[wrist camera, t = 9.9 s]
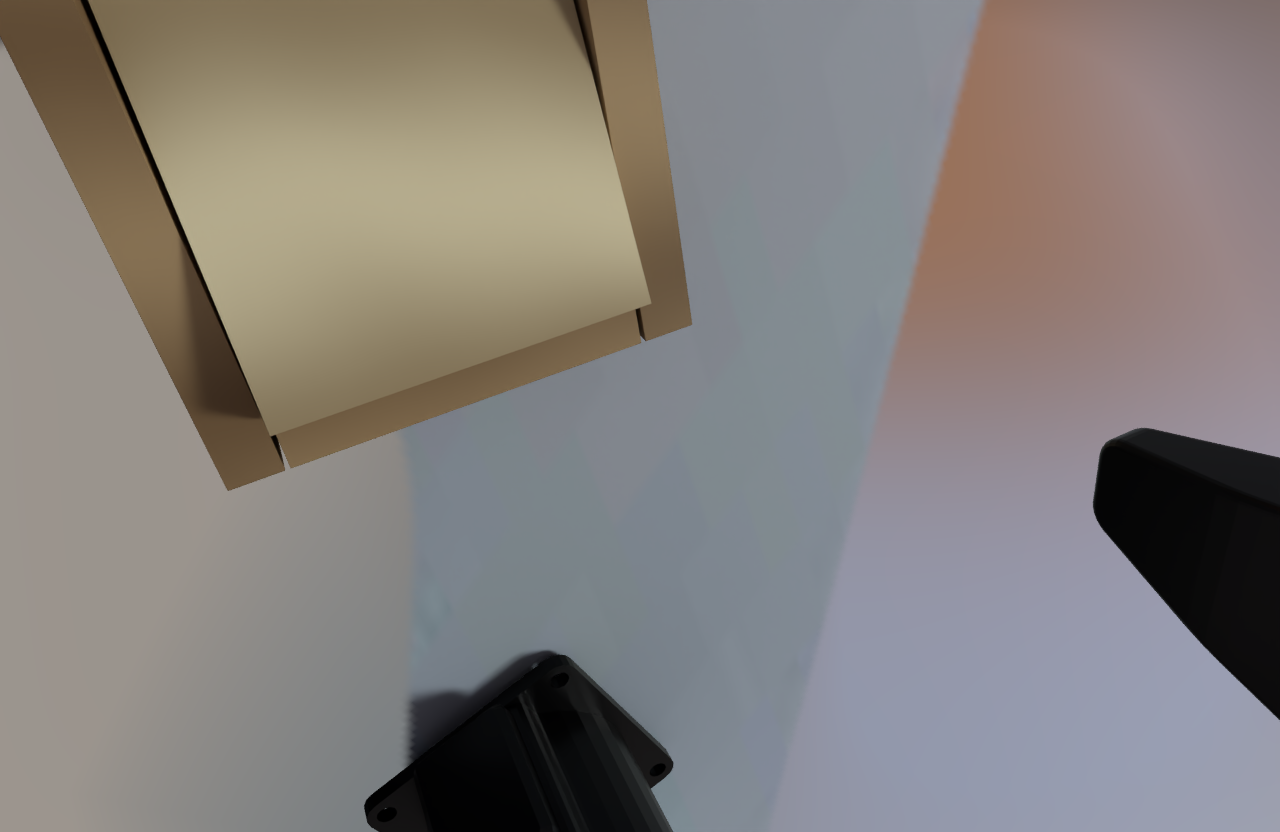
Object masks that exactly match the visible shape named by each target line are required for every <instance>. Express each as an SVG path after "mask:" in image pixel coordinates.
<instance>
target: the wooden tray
mask: <svg viewBox="0 0 1280 832" xmlns="http://www.w3.org/2000/svg"><path fill="white" fill-rule="evenodd" d="M0 37H1V39H2V41H3V43H4V45H5V47H6V49H7V51H8V53H9V55H10V57H11V59H12V61H13V63H14V65H15V67H16V69H17V71H18V73H19V75H20V77H21V79H22V81H23V83H24V85H25V87H26V89H27V91H28V93H29V95H30V97H31V99H32V101H33V103H34V105H35V107H36V109H37V111H38V113H39V115H40V117H41V119H42V121H43V123H44V125H45V127H46V129H47V131H48V133H49V135H50V137H51V139H52V141H53V143H54V145H55V147H56V149H57V151H58V152H59V155H60V157H61V159H62V161H63V162H64V165H65V167H66V169H67V171H68V173H69V175H70V177H71V179H72V181H73V183H74V185H75V187H76V189H77V191H78V193H79V195H80V197H81V199H82V201H83V203H84V205H85V207H86V209H87V211H88V213H89V215H90V217H91V219H92V221H93V222H94V225H95V227H96V229H97V231H98V232H99V235H100V237H101V239H102V241H103V243H104V245H105V247H106V249H107V251H108V253H109V254H110V257H111V259H112V261H113V263H114V265H115V267H116V269H117V271H118V273H119V275H120V277H121V279H122V281H123V283H124V284H125V286H126V289H127V291H128V293H129V294H130V297H131V299H132V301H133V303H134V305H135V307H136V309H137V310H138V313H139V315H140V317H141V319H142V321H143V322H144V325H145V327H146V329H147V331H148V333H149V334H150V336H151V339H152V340H153V343H154V345H155V347H156V349H157V351H158V353H159V355H160V357H161V358H162V361H163V363H164V364H165V366H166V368H167V370H168V373H169V375H170V377H171V379H172V380H173V383H174V385H175V387H176V388H177V390H178V392H179V394H180V396H181V398H182V400H183V402H184V404H185V406H186V408H187V410H188V412H189V414H190V416H191V418H192V420H193V422H194V424H195V426H196V428H197V430H198V432H199V434H200V436H201V438H202V440H203V442H204V444H205V446H206V448H207V450H208V452H209V454H210V456H211V458H212V460H213V462H214V464H215V466H216V468H217V470H218V472H219V474H220V476H221V478H222V480H223V482H224V484H225V486H226V488H227V490H228V491H229V490H232V489H235V488H238V487H241V486H243V485H246V484H249V483H252V482H254V481H257V480H260V479H263V478H266V477H268V476H271V475H274V474H277V473H279V472H282V471H285V467H284V463H283V458H282V454H281V450H280V445H281V447H282V450H283V452H284V454H285V456H286V459H287V461H288V463H289V465H290V467H291V468H293V467H296V466H299V465H302V464H305V463H307V462H310V461H313V460H316V459H318V458H321V457H324V456H327V455H330V454H333V453H335V452H338V451H341V450H344V449H347V448H349V447H352V446H355V445H357V444H360V443H363V442H366V441H369V440H372V439H374V438H377V437H380V436H383V435H386V434H388V433H391V432H394V431H397V430H400V429H402V428H405V427H408V426H411V425H413V424H416V423H419V422H422V421H425V420H427V419H430V418H433V417H436V416H439V415H441V414H444V413H447V412H450V411H453V410H455V409H458V408H461V407H464V406H466V405H469V404H472V403H475V402H478V401H480V400H483V399H486V398H489V397H492V396H494V395H497V394H500V393H503V392H506V391H508V390H511V389H514V388H517V387H519V386H522V385H525V384H528V383H531V382H533V381H536V380H539V379H542V378H545V377H547V376H550V375H553V374H556V373H559V372H561V371H564V370H567V369H570V368H572V367H575V366H578V365H581V364H584V363H586V362H589V361H592V360H595V359H598V358H600V357H603V356H606V355H609V354H612V353H614V352H617V351H620V350H623V349H625V348H628V347H631V346H634V345H637V344H639V343H641V339H640V336H641V337H642V338H643V339H644V340H645V341H648V340H651V339H653V338H656V337H659V336H662V335H665V334H667V333H670V332H673V331H676V330H678V329H681V328H684V327H687V326H690V325H692V320H691V313H690V305H689V298H688V291H687V284H686V277H685V270H684V263H683V255H682V248H681V241H680V234H679V227H678V220H677V213H676V206H675V198H674V191H673V184H672V177H671V170H670V163H669V156H668V149H667V141H666V134H665V127H664V120H663V113H662V106H661V99H660V91H659V84H658V77H657V70H656V63H655V56H654V49H653V42H652V34H651V27H650V20H649V13H648V6H647V0H0ZM279 443H280V445H279Z"/></svg>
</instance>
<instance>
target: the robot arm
mask: <svg viewBox="0 0 1280 832" xmlns="http://www.w3.org/2000/svg"><path fill="white" fill-rule="evenodd" d="M1093 509H1094V513H1095V516H1096V519H1097V521H1098V523H1099V524H1100V526H1101V528H1102V529H1103V530H1104V532H1105V533H1106V534H1107V535H1108V536H1109V537H1110V539H1111V540H1112V541H1113V542H1114V543H1115V544H1116V546H1117V547H1118V548H1119V549H1120V550H1121V551H1122V553H1123V554H1124V555H1125V556H1126V557H1127V558H1128V560H1129V561H1130V562H1131V563H1132V564H1133V565H1134V567H1135V568H1136V569H1137V570H1138V571H1139V572H1140V574H1141V575H1142V576H1143V577H1144V578H1145V579H1146V580H1147V582H1148V583H1149V584H1150V585H1151V586H1152V587H1153V589H1154V590H1155V591H1156V592H1157V593H1158V594H1159V596H1160V597H1161V598H1162V599H1163V600H1164V601H1165V603H1166V604H1167V605H1168V606H1169V607H1170V609H1171V610H1172V611H1173V612H1174V613H1175V614H1176V615H1177V617H1178V618H1179V619H1180V620H1181V621H1182V623H1183V624H1184V625H1185V626H1186V627H1187V628H1188V629H1189V630H1190V632H1191V633H1192V634H1193V635H1194V636H1195V637H1196V638H1197V639H1198V640H1199V641H1200V643H1201V644H1202V645H1203V646H1204V647H1205V648H1206V649H1207V650H1208V651H1209V652H1210V653H1211V654H1212V655H1213V656H1214V657H1215V658H1216V659H1217V660H1218V661H1219V662H1220V663H1221V664H1222V665H1223V666H1224V667H1225V668H1226V669H1227V670H1228V671H1229V672H1230V673H1231V674H1232V675H1233V676H1234V677H1235V678H1236V679H1237V680H1238V681H1240V682H1241V683H1242V684H1243V685H1244V686H1245V687H1246V688H1247V689H1248V690H1249V691H1250V692H1251V693H1252V694H1253V695H1254V696H1255V697H1256V698H1257V699H1258V700H1259V701H1260V702H1261V703H1262V704H1263V705H1264V706H1266V707H1267V708H1268V709H1269V710H1270V711H1271V712H1272V713H1273V714H1274V715H1275V716H1276V717H1277V718H1278V719H1279V720H1280V458H1279V457H1275V456H1270V455H1266V454H1261V453H1257V452H1253V451H1247V450H1243V449H1239V448H1235V447H1230V446H1225V445H1221V444H1217V443H1212V442H1208V441H1203V440H1198V439H1195V438H1190V437H1186V436H1181V435H1177V434H1172V433H1168V432H1163V431H1159V430H1155V429H1149V428H1139V429H1134V430H1132V431H1129V432H1127V433H1125V434H1123V435H1120V436H1118V437H1116V438H1113V439H1111V440H1109V441H1108V442H1106V443H1105V445H1104V446H1103V447H1102V449H1101V452H1100V456H1099V464H1098V471H1097V478H1096V485H1095V492H1094V499H1093ZM558 673H561V674H560V675H558V676H556V677H554V676H555V675H557V674H558ZM672 768H673V761H672V759H671V757H670V756H669V754H668V752H667V750H666V749H665V748H664V747H663V746H662V745H661V744H660V743H659V742H658V741H657V740H656V739H655V738H654V737H653V736H652V735H651V734H649V733H648V732H647V731H646V730H645V729H644V728H643V727H642V726H641V725H640V724H639V723H638V722H637V721H636V720H635V719H634V718H633V717H632V716H631V715H629V714H628V713H627V712H626V711H625V710H624V709H623V708H622V707H621V706H620V705H619V704H618V703H617V702H616V701H615V700H614V699H613V698H612V697H611V696H609V695H608V694H607V693H606V692H605V691H604V690H603V689H602V688H601V687H600V686H599V685H598V684H597V683H596V682H595V681H594V680H593V679H592V678H591V677H590V676H588V675H587V674H586V673H585V672H584V671H583V670H582V669H581V668H580V667H579V666H578V665H577V664H576V663H575V662H574V661H573V660H572V659H571V658H569V657H567V656H566V655H555V656H551V657H549V658H548V659H546V660H544V661H543V662H542V663H540V664H539V665H538V666H537V667H535V668H534V669H533V670H531V671H530V672H529V673H528V674H526V675H525V676H524V677H522V678H521V679H520V680H519V681H517V682H516V683H515V684H513V685H512V686H511V687H510V688H508V689H507V690H506V691H504V692H503V693H502V694H501V695H499V696H498V697H497V698H495V699H494V700H493V701H492V702H490V703H489V704H488V705H486V706H485V707H484V708H483V709H481V710H480V711H479V712H477V713H476V714H475V715H473V716H472V717H471V718H470V719H468V720H467V721H466V722H464V723H463V724H462V725H461V726H459V727H458V728H457V729H455V730H454V731H453V732H452V733H450V734H449V735H448V736H446V737H445V738H444V739H443V740H441V741H440V742H439V743H437V744H436V745H435V746H434V747H432V748H431V749H430V750H428V751H427V752H426V753H425V754H423V755H422V756H421V757H419V758H418V759H417V760H416V761H414V762H413V763H412V764H410V765H409V766H408V767H407V768H405V769H404V770H403V771H401V772H400V773H399V774H398V775H396V776H395V777H394V778H393V779H391V780H390V781H389V782H387V783H386V784H385V785H383V786H382V787H381V788H379V789H378V790H377V791H376V792H374V793H373V794H372V795H371V796H370V797H369V798H368V799H367V800H366V802H365V805H364V809H365V814H366V818H367V823H368V824H369V825H370V826H371V827H372V828H374V829H375V830H377V831H379V832H673V830H672V829H671V827H670V825H669V823H668V821H667V819H666V817H665V815H664V813H663V811H662V810H661V808H660V806H659V804H658V802H657V800H656V798H655V796H654V794H653V792H652V791H651V788H652V787H653V786H655V785H656V784H657V783H659V782H660V781H661V780H662V779H664V778H665V777H666V776H667V775H668V774H669V773H670V772H671V770H672ZM385 808H386V809H385Z"/></svg>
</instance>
